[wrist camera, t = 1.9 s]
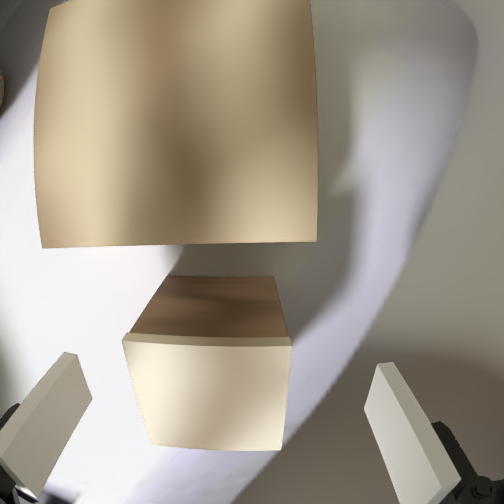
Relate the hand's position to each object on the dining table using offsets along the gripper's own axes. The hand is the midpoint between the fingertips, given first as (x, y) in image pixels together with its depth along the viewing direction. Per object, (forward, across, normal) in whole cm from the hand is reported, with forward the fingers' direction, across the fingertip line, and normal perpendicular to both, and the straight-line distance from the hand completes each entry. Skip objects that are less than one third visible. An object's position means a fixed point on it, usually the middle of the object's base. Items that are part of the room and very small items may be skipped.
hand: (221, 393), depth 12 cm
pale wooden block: (+6, -1, 0) cm, 6 cm away
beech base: (+7, -3, +12) cm, 14 cm away
